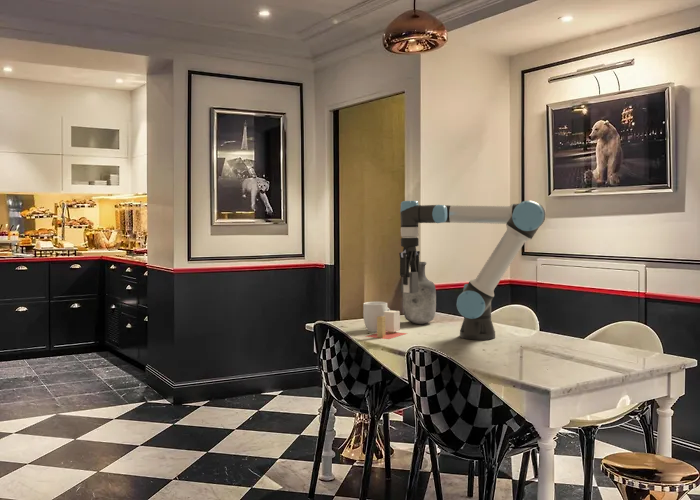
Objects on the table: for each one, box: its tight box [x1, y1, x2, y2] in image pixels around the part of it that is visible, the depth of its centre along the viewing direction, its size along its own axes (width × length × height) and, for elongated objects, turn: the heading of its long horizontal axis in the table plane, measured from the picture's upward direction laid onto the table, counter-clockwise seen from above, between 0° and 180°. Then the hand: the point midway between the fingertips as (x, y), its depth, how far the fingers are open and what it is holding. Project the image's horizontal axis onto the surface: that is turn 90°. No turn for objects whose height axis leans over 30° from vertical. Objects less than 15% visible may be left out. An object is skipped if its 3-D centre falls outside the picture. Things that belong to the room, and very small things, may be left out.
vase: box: [402, 261, 437, 325], centre depth 332 cm, size 16×16×30 cm
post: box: [376, 316, 386, 339], centre depth 295 cm, size 3×3×9 cm
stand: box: [365, 309, 408, 340], centre depth 300 cm, size 12×17×10 cm
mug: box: [362, 301, 391, 333], centre depth 313 cm, size 15×11×13 cm
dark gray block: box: [401, 271, 418, 294], centre depth 290 cm, size 5×5×9 cm
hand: (410, 291), depth 290 cm, fingers closed on dark gray block, 5 cm apart
